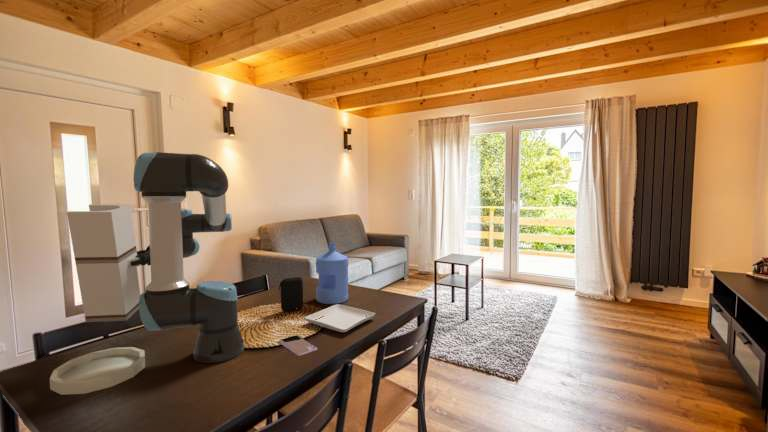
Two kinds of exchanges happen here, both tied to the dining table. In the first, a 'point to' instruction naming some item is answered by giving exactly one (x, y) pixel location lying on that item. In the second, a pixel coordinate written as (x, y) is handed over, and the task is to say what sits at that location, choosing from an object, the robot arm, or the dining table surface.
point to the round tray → (97, 370)
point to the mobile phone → (297, 345)
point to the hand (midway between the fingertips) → (103, 264)
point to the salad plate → (339, 317)
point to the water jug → (332, 277)
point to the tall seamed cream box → (105, 261)
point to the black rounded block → (291, 294)
